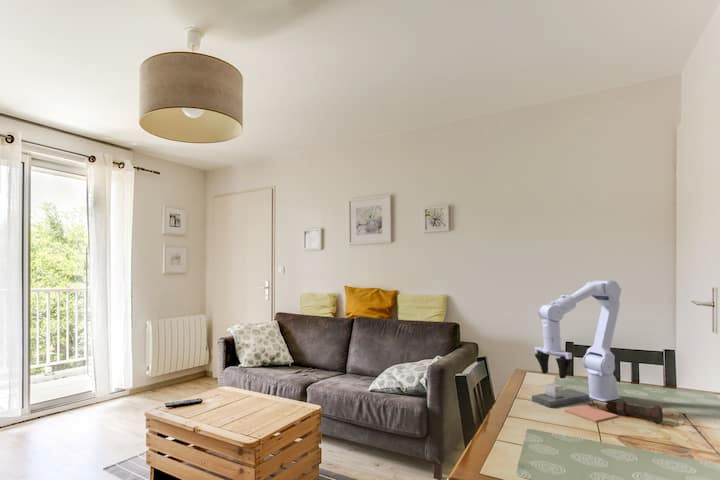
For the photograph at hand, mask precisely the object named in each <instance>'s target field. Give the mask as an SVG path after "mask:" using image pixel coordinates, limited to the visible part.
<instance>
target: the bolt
mask: <svg viewBox="0 0 720 480" xmlns="http://www.w3.org/2000/svg"><path fill="white" fill-rule="evenodd" d="M605 407H606V409H607V411H608V412H609V411H611V412H615V413H617V415H618V416H624V417H625V416H627V415H630V416H636V417H640V418H645V419H649V420H653V423H654V424H658V425H662V423H663V421H664V412H663V408H662V406H660V404H654V405H653V406H652V407H648V406H647V407H646V406H641V405H635V404H631V403H627V401H626V400H621V399H620V400H619V399H618V400H617V401H615V400H610V401H605Z"/></svg>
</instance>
